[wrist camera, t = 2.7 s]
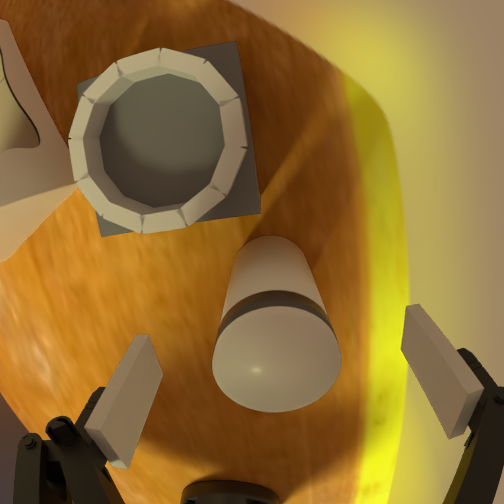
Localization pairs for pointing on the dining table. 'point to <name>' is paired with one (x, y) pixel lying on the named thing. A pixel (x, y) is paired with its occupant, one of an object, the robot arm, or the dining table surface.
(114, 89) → the grey socket block
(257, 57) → the dining table surface
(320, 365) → the beige rounded cylinder
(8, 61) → the gable box
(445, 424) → the robot arm
